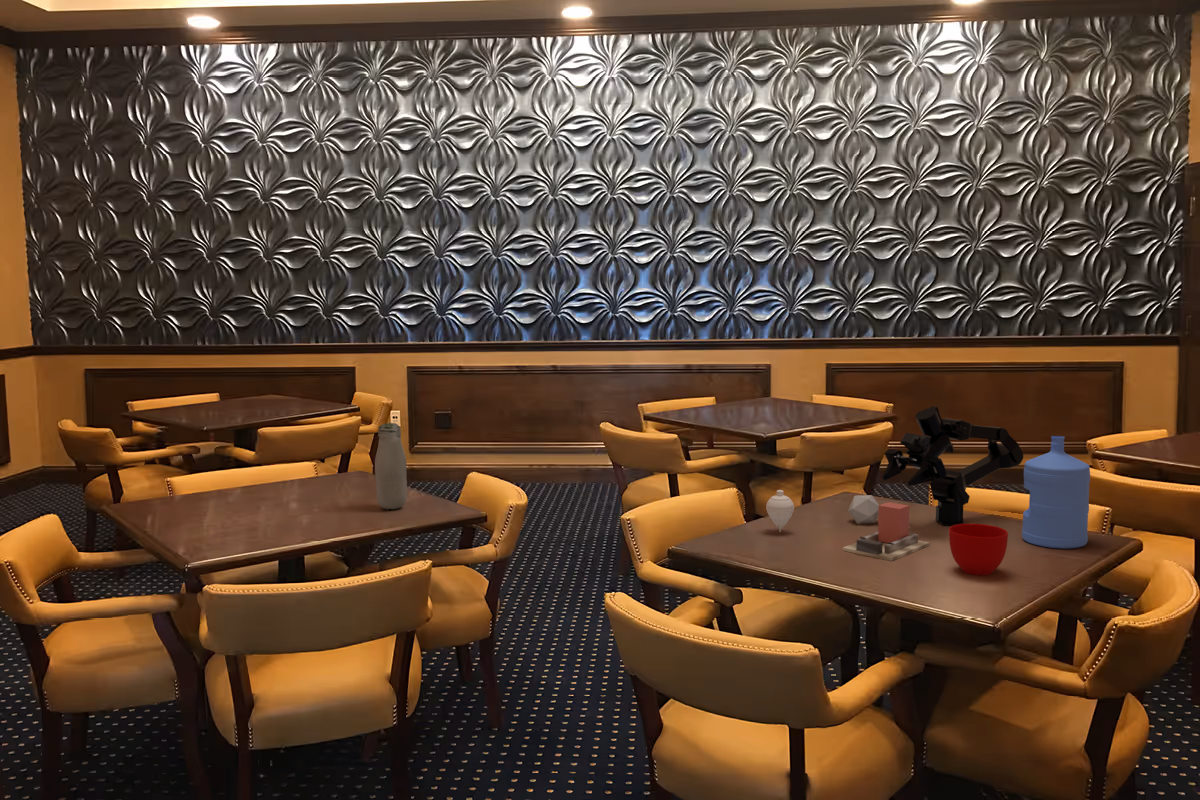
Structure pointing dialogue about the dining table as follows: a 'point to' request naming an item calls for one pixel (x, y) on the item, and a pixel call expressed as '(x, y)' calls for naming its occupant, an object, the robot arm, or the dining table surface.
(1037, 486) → the water jug
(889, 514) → the pink upright block
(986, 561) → the ceramic cup
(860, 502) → the die
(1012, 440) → the robot arm
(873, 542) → the press stand
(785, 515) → the spinning top
